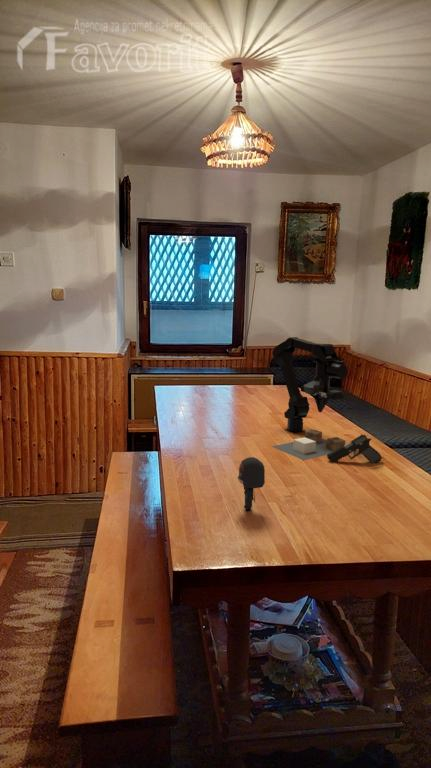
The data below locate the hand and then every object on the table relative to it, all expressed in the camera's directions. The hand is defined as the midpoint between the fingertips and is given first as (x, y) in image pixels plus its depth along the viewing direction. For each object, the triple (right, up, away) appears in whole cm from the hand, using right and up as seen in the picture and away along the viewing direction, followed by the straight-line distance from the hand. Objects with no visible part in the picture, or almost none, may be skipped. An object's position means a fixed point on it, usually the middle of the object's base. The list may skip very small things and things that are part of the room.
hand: (320, 411), depth 205 cm
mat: (-5, -14, -9) cm, 18 cm away
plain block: (-9, -14, -13) cm, 21 cm away
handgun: (+7, -18, -24) cm, 30 cm away
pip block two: (+4, -14, -10) cm, 18 cm away
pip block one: (-3, -12, -1) cm, 12 cm away
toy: (-34, -24, -65) cm, 77 cm away
